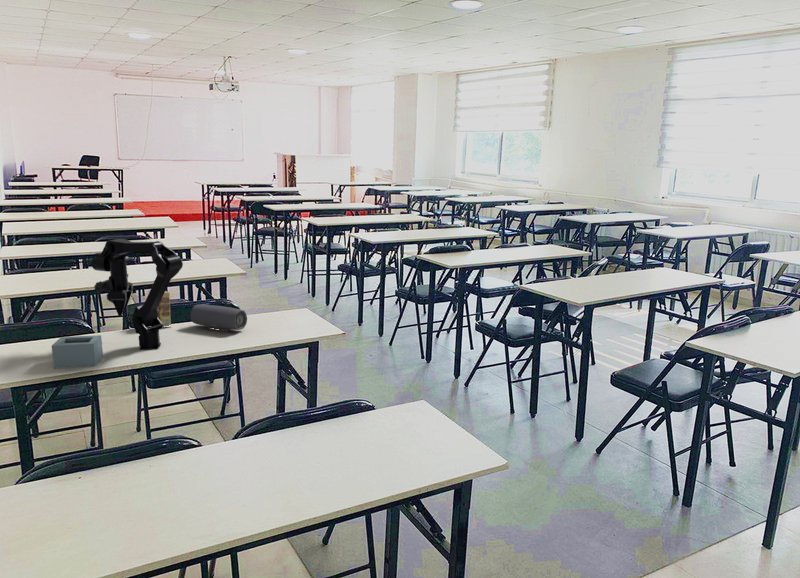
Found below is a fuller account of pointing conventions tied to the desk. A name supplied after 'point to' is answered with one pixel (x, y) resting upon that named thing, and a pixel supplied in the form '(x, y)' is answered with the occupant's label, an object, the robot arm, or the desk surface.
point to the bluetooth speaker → (219, 317)
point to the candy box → (164, 310)
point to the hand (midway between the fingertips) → (122, 312)
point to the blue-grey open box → (77, 351)
